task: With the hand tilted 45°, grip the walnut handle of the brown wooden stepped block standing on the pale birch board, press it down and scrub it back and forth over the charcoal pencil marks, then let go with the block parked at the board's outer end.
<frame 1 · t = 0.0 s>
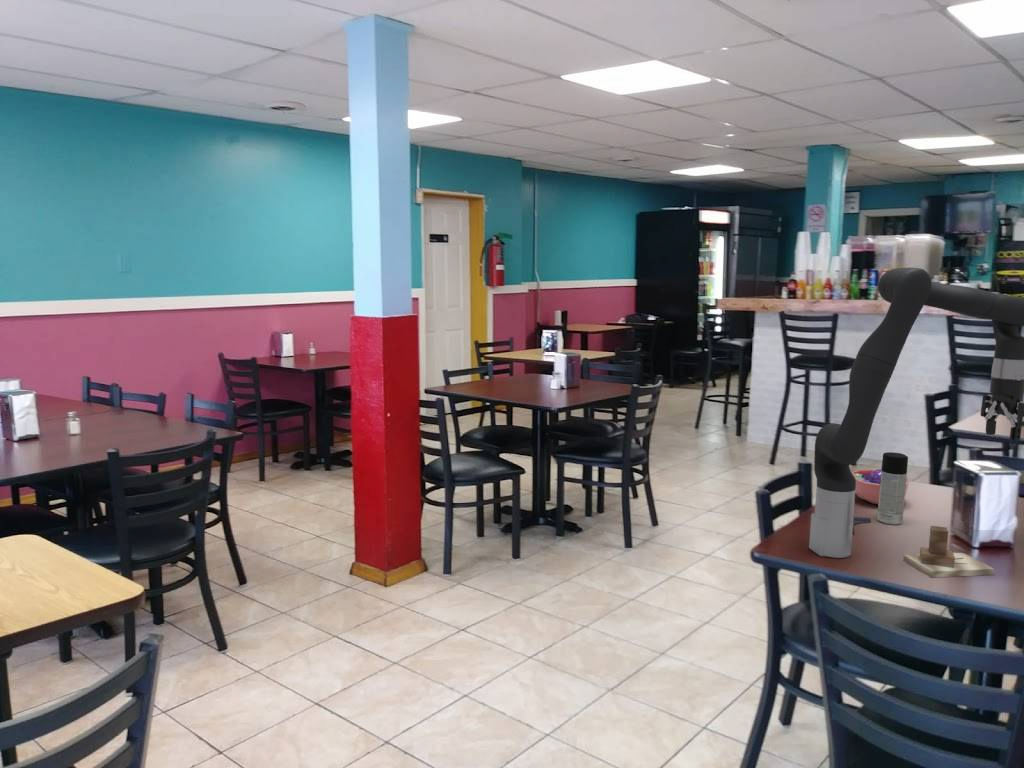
hand: (1002, 437, 203), 29 cm above the table, tool pointing down, fingers open, 8 cm apart
board: (947, 567, 192), on the table
cell model: (878, 502, 247), on the table
spray can: (889, 522, 227), on the table
bracket: (846, 529, 223), on the table
brown wooden stepped block: (936, 562, 192), point 2 cm above the table, touching board
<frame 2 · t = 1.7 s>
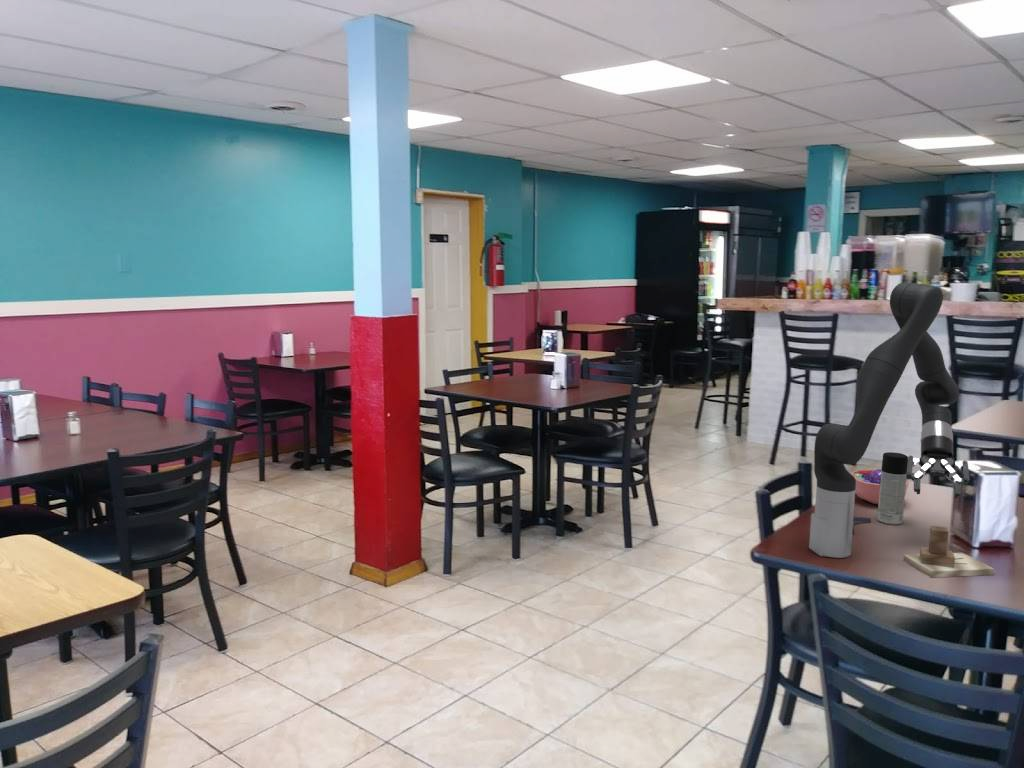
hand: (937, 494, 199), 16 cm above the table, tool tilted 45°, fingers open, 8 cm apart
nothing on the table moved.
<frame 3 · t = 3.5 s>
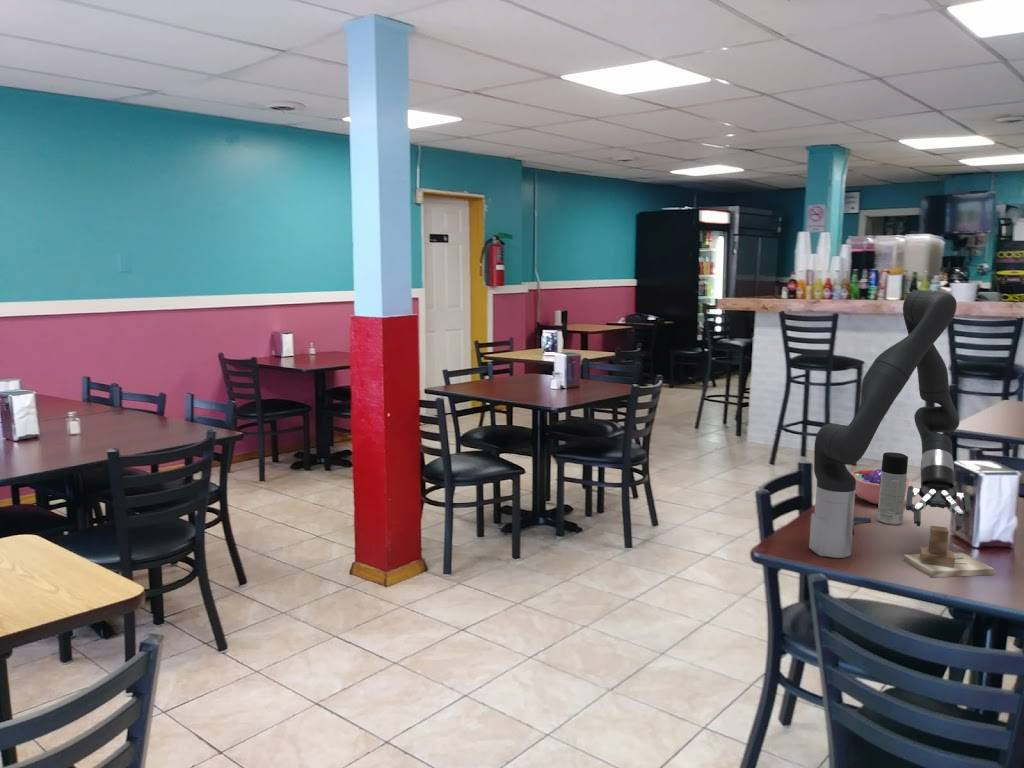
hand: (938, 527, 193), 9 cm above the table, tool tilted 45°, fingers open, 8 cm apart
nothing on the table moved.
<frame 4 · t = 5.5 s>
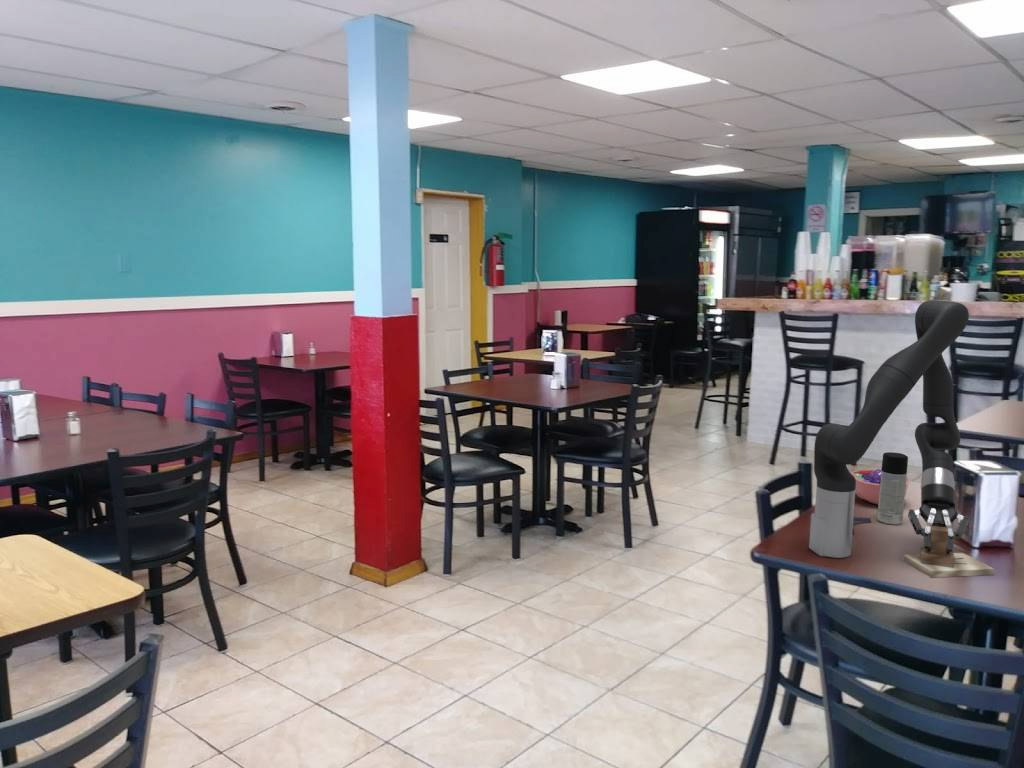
hand: (938, 551, 189), 5 cm above the table, tool tilted 45°, fingers closed on brown wooden stepped block, 3 cm apart
brown wooden stepped block: (936, 562, 192), point 2 cm above the table, touching board, gripper
everything else where it was.
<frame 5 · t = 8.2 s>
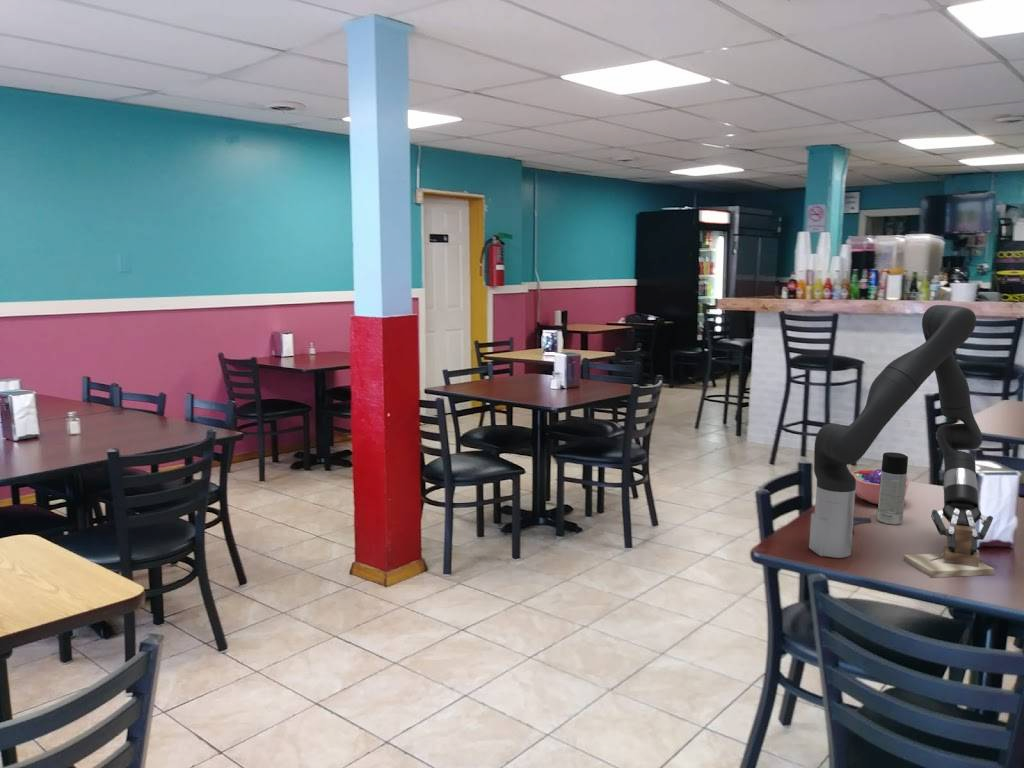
hand: (962, 551, 190), 5 cm above the table, tool tilted 45°, fingers closed on brown wooden stepped block, 3 cm apart
brown wooden stepped block: (960, 561, 192), point 2 cm above the table, touching board, gripper
everything else where it was.
when the fingers open (5 cm above the table, at t = 11.2 s): brown wooden stepped block stays where it is, resting on board.
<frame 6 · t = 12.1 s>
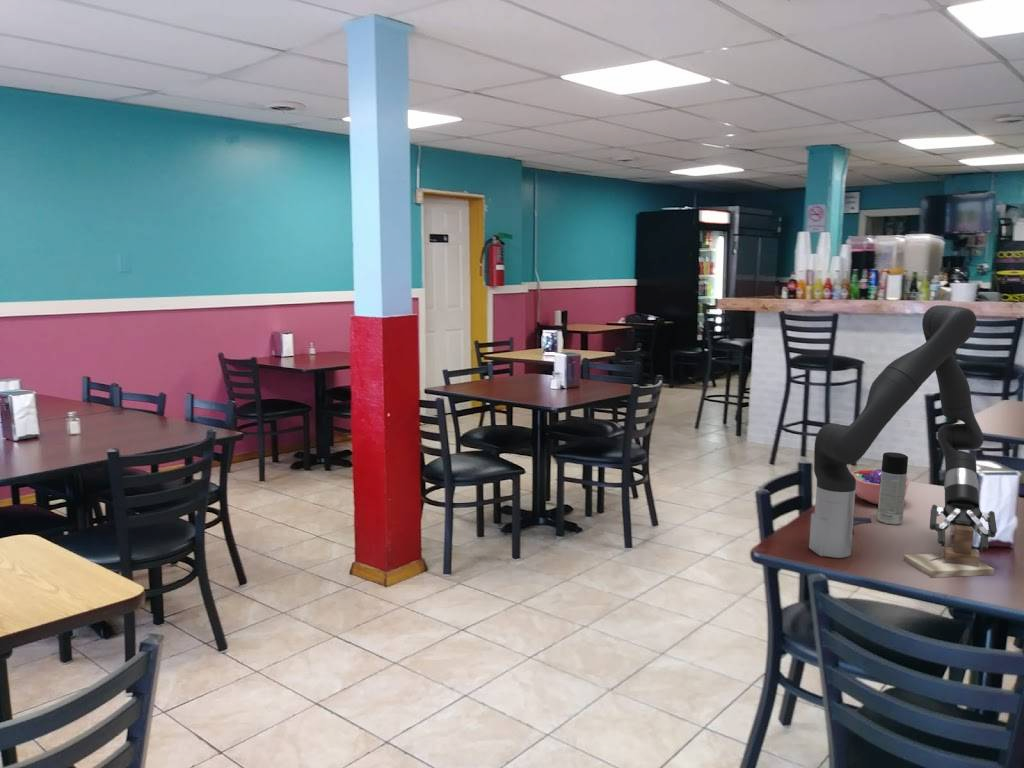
hand: (963, 547, 191), 5 cm above the table, tool tilted 45°, fingers open, 8 cm apart
brown wooden stepped block: (960, 561, 192), point 2 cm above the table, touching board
everything else where it was.
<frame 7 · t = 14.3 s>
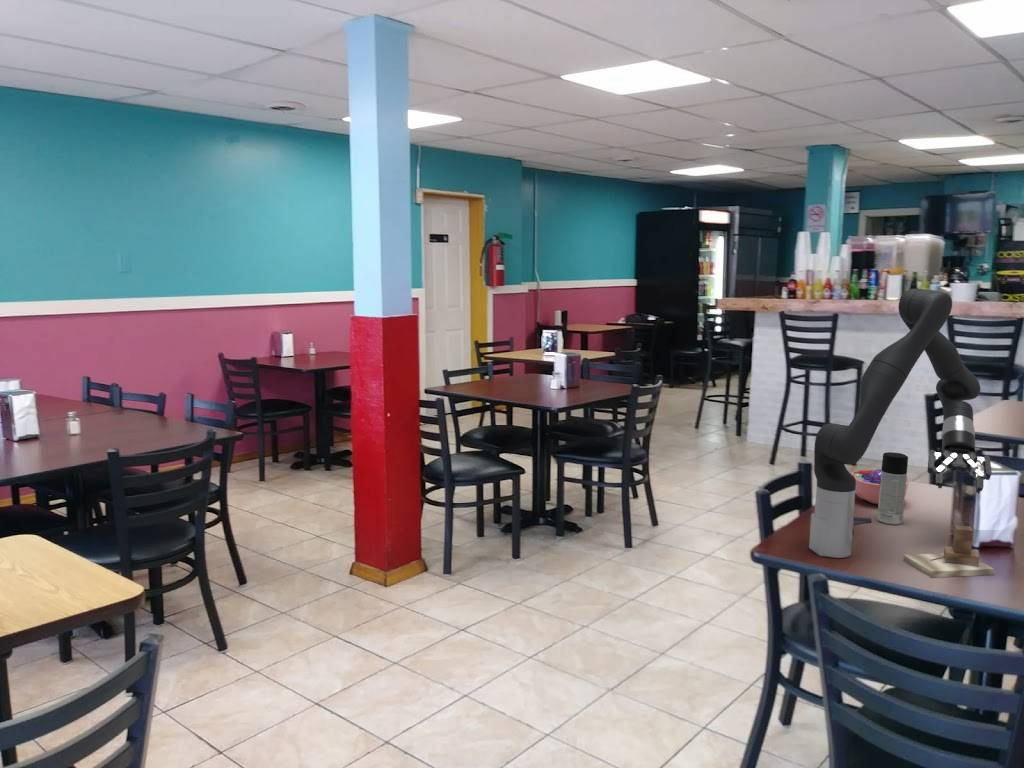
hand: (959, 488, 199), 17 cm above the table, tool tilted 45°, fingers open, 8 cm apart
nothing on the table moved.
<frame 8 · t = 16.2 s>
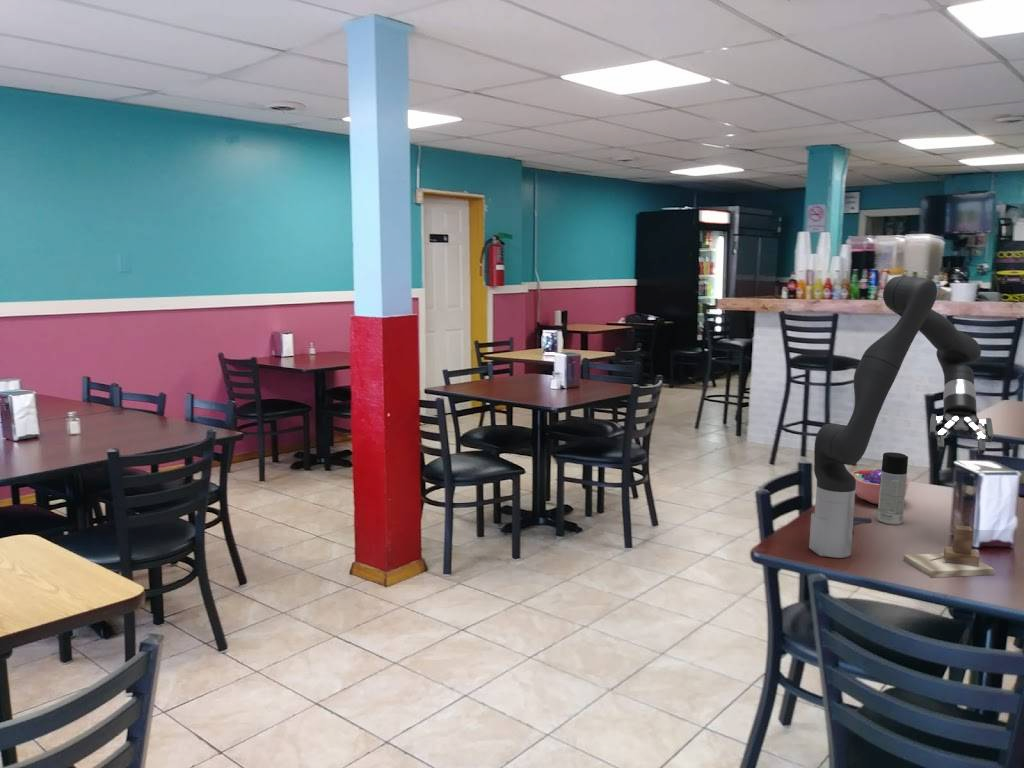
hand: (961, 451, 199), 27 cm above the table, tool tilted 45°, fingers open, 8 cm apart
nothing on the table moved.
at the end: brown wooden stepped block 0.4 cm from the target spot on the board, point 1.5 cm above the board's base; brown wooden stepped block tilted 0°; the gripper is holding nothing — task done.
